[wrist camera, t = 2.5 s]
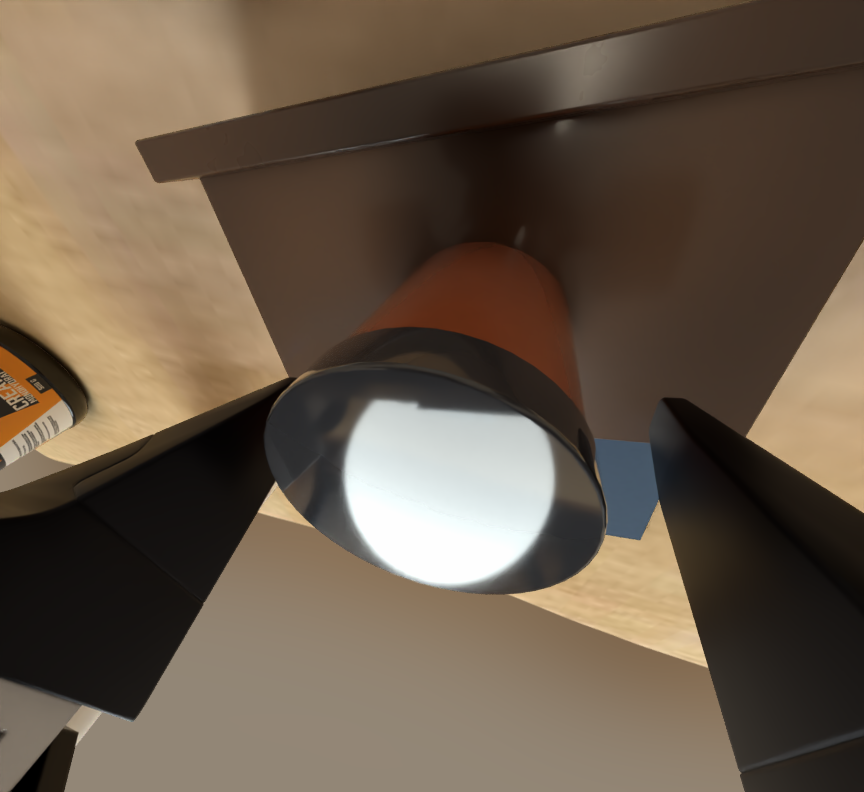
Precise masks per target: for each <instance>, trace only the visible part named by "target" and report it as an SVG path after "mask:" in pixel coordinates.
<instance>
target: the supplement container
mask: <svg viewBox="0 0 864 792" xmlns="http://www.w3.org/2000/svg"><path fill="white" fill-rule="evenodd" d="M86 414H87V401H86V398H85V396H84V393H83V392H82V390H81V388H80V387H79V385H78V384H77V382H76V381H75V380H74V379H73V377H72V376H71V375H70V374H69V373H68V372H67V371H66V370H65V369H64V368H63V367H62V366H61V365H60V364H59V363H58V362H57V361H56V360H55V359H54V358H53V357H51V356H50V355H49V354H48V353H47V352H45V351H44V350H43V349H41V348H40V347H39V346H37V345H36V344H35V343H33V342H32V341H30V340H29V339H27V338H25V337H24V336H22V335H20V334H19V333H17V332H15V331H13V330H11V329H9V328H6V327H4V326H1V325H0V470H1V469H3V468H4V467H6V466H8V465H9V464H11V463H12V462H14V461H16V460H18V459H19V458H21V457H22V456H24V455H26V454H27V453H29V452H30V451H32V450H34V449H36V448H37V447H39V446H41V445H42V444H44V443H46V442H47V441H49V440H51V439H52V438H54V437H56V436H57V435H59V434H61V433H62V432H64V431H65V430H67V429H69V428H72V427H74V426H76V425H77V424H79V423H80V422H81V421H82V420H83V419H84V418H85V416H86Z"/></svg>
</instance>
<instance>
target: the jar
mask: <svg viewBox="0 0 864 792" xmlns="http://www.w3.org/2000/svg"><path fill="white" fill-rule="evenodd" d="M264 449H265V454H266V459H267V462H268V465H269V467H270V470H271V473H272V475H273V477H274V479H275V480H276V482H277V484H278V486H279V488H280V489H281V490H282V492H283V493H284V495H285V496H286V498H287V499H288V500H289V501H290V503H291V504H292V505H293V506H294V507H295V509H296V510H297V511H298V512H299V513H300V514H301V515H302V516H303V517H304V518H305V519H306V520H307V521H308V522H309V523H310V524H312V525H313V526H314V527H315V528H316V529H317V530H319V531H320V532H321V533H322V534H324V535H325V536H326V537H328V538H329V539H330V540H332V541H333V542H335V543H336V544H338V545H339V546H341V547H342V548H344V549H345V550H347V551H349V552H350V553H352V554H354V555H355V556H357V557H359V558H361V559H363V560H364V561H366V562H368V563H370V564H372V565H374V566H376V567H379V568H381V569H383V570H386V571H388V572H390V573H393V574H395V575H398V576H401V577H403V578H406V579H409V580H413V581H415V582H419V583H422V584H426V585H429V586H433V587H437V588H442V589H447V590H452V591H459V592H467V593H476V594H517V593H524V592H531V591H536V590H540V589H544V588H548V587H551V586H553V585H556V584H558V583H561V582H564V581H565V580H567V579H569V578H571V577H573V576H574V575H576V574H578V573H579V572H580V571H581V570H582V569H584V568H585V567H586V566H587V565H588V564H589V563H590V562H591V561H592V559H593V558H594V557H595V556H596V554H597V553H598V551H599V549H600V547H601V545H602V542H603V540H604V538H605V533H606V528H607V523H608V519H607V503H606V497H605V492H604V486H603V480H602V474H601V468H600V462H599V456H598V452H597V448H596V444H595V441H594V437H593V434H592V432H591V430H590V428H589V426H588V424H587V421H586V414H585V407H584V401H583V394H582V387H581V380H580V374H579V367H578V360H577V354H576V347H575V340H574V334H573V327H572V320H571V313H570V309H569V305H568V301H567V299H566V296H565V294H564V292H563V290H562V288H561V286H560V285H559V283H558V281H557V280H556V278H555V277H554V276H553V275H552V274H551V273H550V271H549V270H548V269H547V268H546V267H545V266H543V265H542V264H541V263H540V262H539V261H538V260H536V259H535V258H533V257H532V256H530V255H528V254H527V253H525V252H523V251H520V250H518V249H516V248H514V247H511V246H507V245H504V244H500V243H493V242H468V243H461V244H458V245H454V246H451V247H448V248H446V249H443V250H441V251H439V252H437V253H435V254H434V255H432V256H431V257H429V258H428V259H426V260H425V261H424V262H423V263H422V264H420V265H419V266H418V267H417V268H416V269H415V270H414V271H413V272H412V273H411V274H410V275H409V276H408V277H407V278H406V279H405V280H404V281H403V282H402V283H401V284H400V285H399V286H398V287H397V288H396V289H395V290H394V291H393V292H392V293H391V294H390V295H389V296H388V297H387V298H386V299H385V300H384V301H383V302H382V303H381V304H380V305H379V306H378V307H377V308H376V309H375V310H374V311H373V312H372V313H371V314H370V315H369V316H368V317H367V318H366V319H365V320H364V321H363V322H362V323H361V324H360V325H359V326H358V327H357V328H356V329H355V330H354V331H353V332H352V333H351V334H350V335H349V336H348V337H347V338H346V339H345V340H343V341H342V342H340V343H338V344H337V345H335V346H333V347H331V348H330V349H328V350H327V351H326V352H325V353H324V354H322V355H321V356H320V357H319V358H318V359H317V360H316V361H315V362H314V363H312V364H311V365H310V366H309V367H308V368H307V369H306V370H305V371H304V372H303V373H302V374H301V375H300V376H299V377H298V378H297V379H296V380H295V381H294V382H293V383H292V384H291V385H290V386H289V387H287V388H286V389H285V390H284V391H283V392H282V393H281V395H280V396H279V397H278V399H277V400H276V401H275V403H274V404H273V406H272V408H271V410H270V413H269V415H268V417H267V420H266V425H265V430H264Z"/></svg>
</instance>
